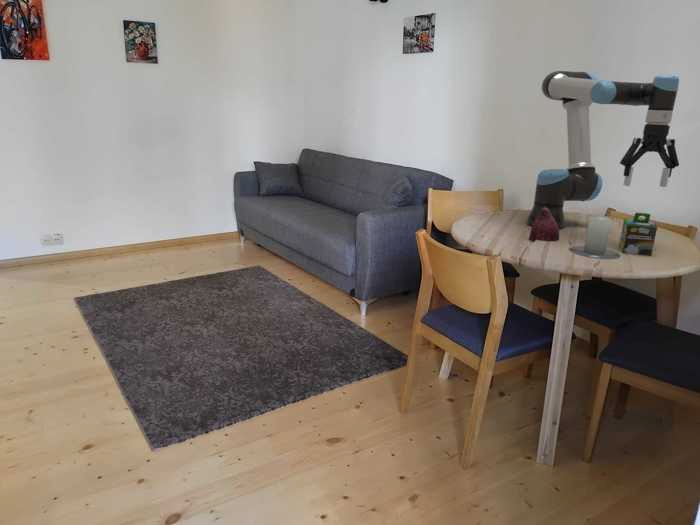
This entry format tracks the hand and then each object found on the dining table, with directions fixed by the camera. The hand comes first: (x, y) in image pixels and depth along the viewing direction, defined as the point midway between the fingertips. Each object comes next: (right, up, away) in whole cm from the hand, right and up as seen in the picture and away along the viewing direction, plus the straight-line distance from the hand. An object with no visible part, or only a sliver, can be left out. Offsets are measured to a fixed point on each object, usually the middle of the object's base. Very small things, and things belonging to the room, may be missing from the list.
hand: (644, 186), depth 182 cm
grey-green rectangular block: (-21, -23, -7) cm, 32 cm away
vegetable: (-32, -19, +11) cm, 39 cm away
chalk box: (-5, -24, -3) cm, 25 cm away
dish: (-21, -25, -7) cm, 33 cm away
